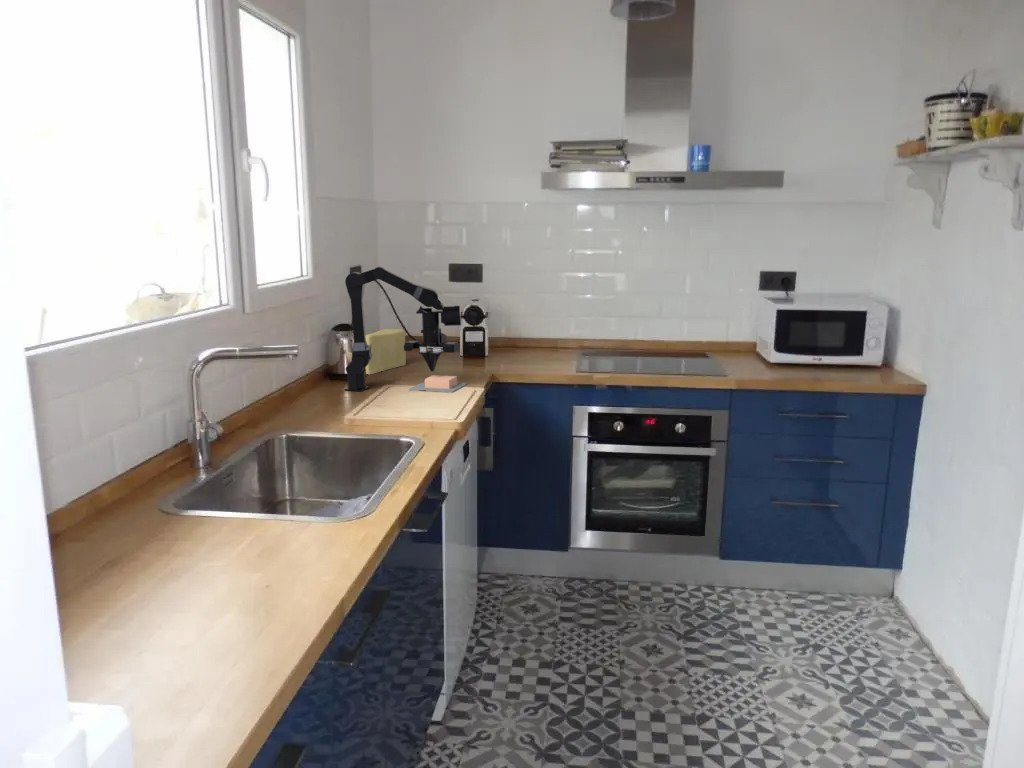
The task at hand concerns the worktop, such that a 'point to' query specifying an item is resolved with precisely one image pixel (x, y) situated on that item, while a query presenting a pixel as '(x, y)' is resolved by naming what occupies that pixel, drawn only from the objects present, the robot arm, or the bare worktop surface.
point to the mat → (422, 387)
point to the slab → (441, 382)
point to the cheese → (386, 350)
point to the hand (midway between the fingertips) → (432, 371)
